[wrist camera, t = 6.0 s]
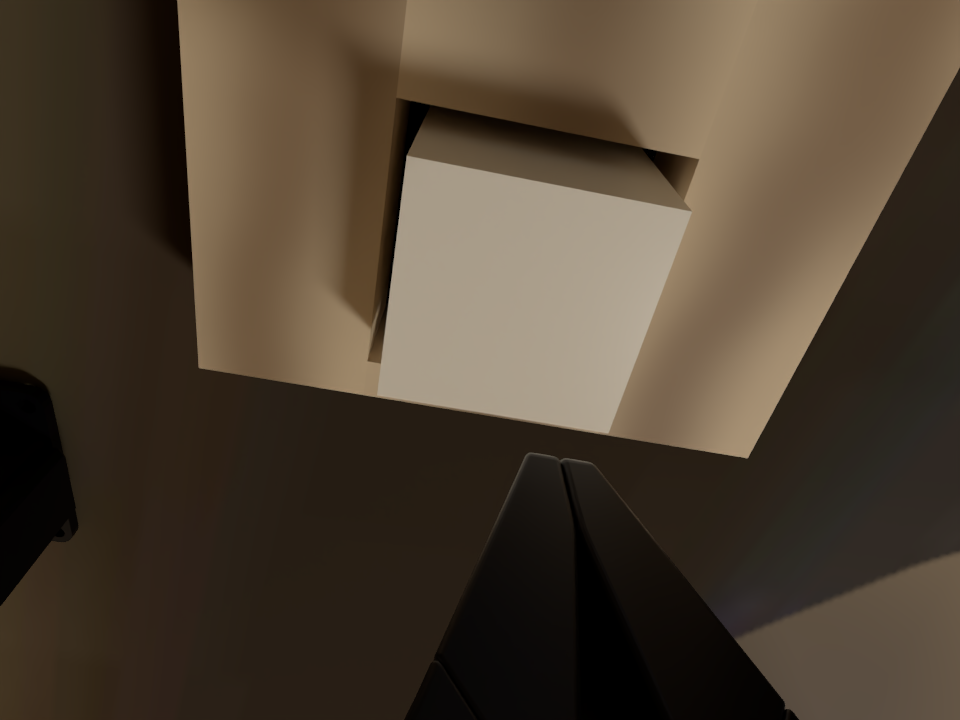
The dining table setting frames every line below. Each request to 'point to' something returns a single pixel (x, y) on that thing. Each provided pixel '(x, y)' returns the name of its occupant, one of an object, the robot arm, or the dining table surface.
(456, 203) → the beige cube
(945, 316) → the dining table surface
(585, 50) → the beige flat board
